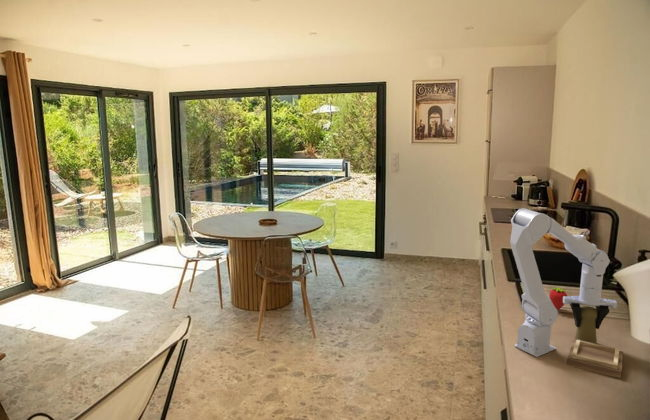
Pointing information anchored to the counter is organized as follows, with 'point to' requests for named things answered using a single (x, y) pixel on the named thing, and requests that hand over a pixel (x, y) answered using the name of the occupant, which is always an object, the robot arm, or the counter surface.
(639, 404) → the counter surface
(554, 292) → the strawberry
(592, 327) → the cork
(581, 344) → the wooden serving tray
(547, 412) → the counter surface
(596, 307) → the robot arm
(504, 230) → the counter surface
